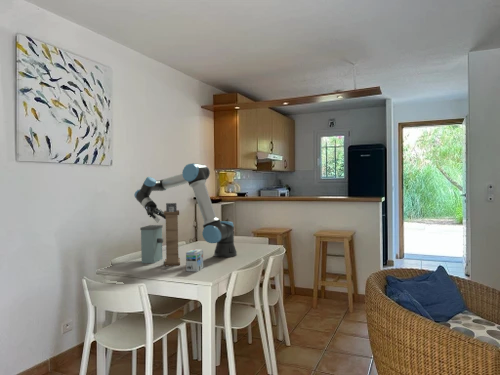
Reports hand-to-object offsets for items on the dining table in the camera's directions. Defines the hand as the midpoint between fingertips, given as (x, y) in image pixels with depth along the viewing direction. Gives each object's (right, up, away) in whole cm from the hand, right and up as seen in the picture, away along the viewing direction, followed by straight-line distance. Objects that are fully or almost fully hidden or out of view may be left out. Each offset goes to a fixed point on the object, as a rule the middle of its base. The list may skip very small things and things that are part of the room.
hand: (165, 222), depth 248 cm
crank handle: (+6, +9, -11) cm, 15 cm away
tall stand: (+8, -23, -18) cm, 31 cm away
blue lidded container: (-5, -23, -10) cm, 26 cm away
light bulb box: (+25, -23, -37) cm, 51 cm away
